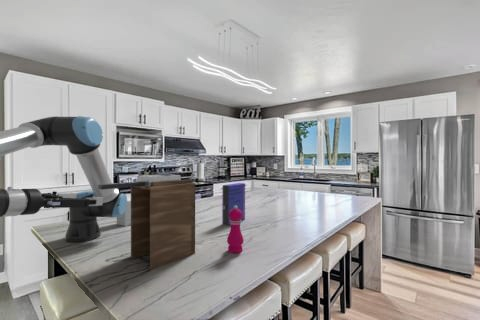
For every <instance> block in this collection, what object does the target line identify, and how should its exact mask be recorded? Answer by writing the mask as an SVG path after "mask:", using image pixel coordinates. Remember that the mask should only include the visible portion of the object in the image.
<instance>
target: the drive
mask: <svg viewBox="0 0 480 320" xmlns="http://www.w3.org/2000/svg"><path fill="white" fill-rule="evenodd" d="M177 180H182V179H181V175H180V174H171V173H168V172H167V173H166V172H157V173H156V174H145V175H143V174H141V175H137V176H136V181H128V182H116V183H115V182H112V184H99V185H98V189H101V190H103V189H114V188H117V189H124V188H131V187H136V186H149V187H150V186H152V182H165V181H177Z"/></svg>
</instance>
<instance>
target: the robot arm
mask: <svg viewBox="0 0 480 320" xmlns="http://www.w3.org/2000/svg"><path fill="white" fill-rule="evenodd" d="M103 139H104V136H103V129H102V126H101V125H100V123H99V122H98V120H96V119H94V118H93V117H90V116H82V115H80V116H48V117H45V118H44V117H43V118H39V119H36V120H31V121H28V122H23V123H20V124H19V125H18V126H17V127H14V128H9V129H5V130H1V131H0V162H1V160H2V158H1V157H4V156H7V155H9V154H12V153H15V152H18V151H22V150H24V149H27V148H33V149H35V148H38V147H42V146H43V147H45V146H66V148H67V149H68V151H69V153H70V154H72V155H74V156H76V158H77V160H78V162H79V164H80V166H81V169H82V171H83V174H84V175H85V177H86V179H87V181H88V183H89V186H90V188H91V190H87V191H80V192H75V193H74V192H70V193H69V192H68V193H63V192H61V193H57V191H54V190H53V191H52V193H51V192H47V193H46V192H45V193H42V192H41V190H40V189H37V188H13V187H12V186H8V187H7V188H0V218H4V217H16V216H17V217H18V216H26V215H27V216H28V215H35V214H36V213H38V212H39V211H40V210H41V208H44V209H50V208H51V209H57V208H58V209H59V208H62V209H63V208H64V209H65V208H68V209H69V214H68V215H69V219H68V220H69V224H68V227H67V230H66V232H65V236H64V240H65V242H67V243H82V242H88V241H91V240H95V239H97V238H100V236H101V234H102V233H101V229H100V225H99V224H98V218H117V217H120V216H122V215H123V213H124V211H125V209H126V205H127V198H128V197H127V195H126V194H125V193H120V191H119V188H114V189H103V190H101V189H98V185H99V184H112V183H113V182H112V180H111V178H110V174H109V173H108V170H107V168H106V164H105V163H104V160H103V157H102V154H101V153H100V150H99V148H100V146H101V143H102V141H103Z"/></svg>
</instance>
